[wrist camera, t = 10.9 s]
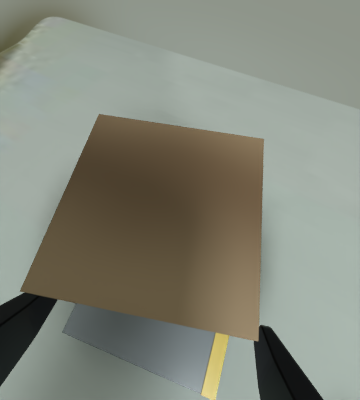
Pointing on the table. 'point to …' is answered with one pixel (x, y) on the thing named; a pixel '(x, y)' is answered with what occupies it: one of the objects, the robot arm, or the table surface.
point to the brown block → (159, 227)
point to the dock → (154, 346)
